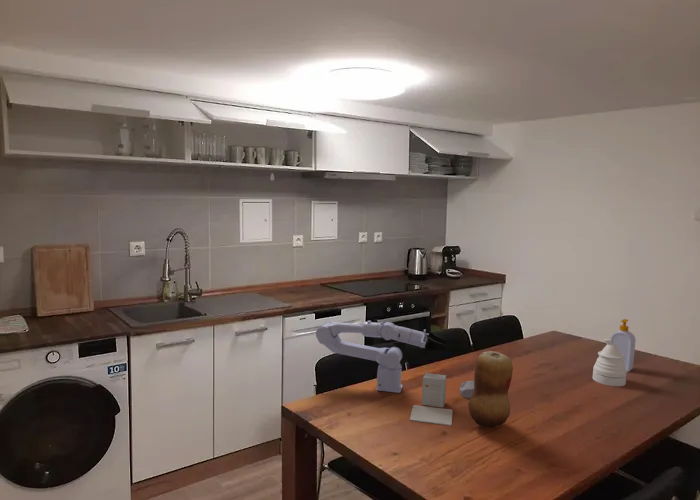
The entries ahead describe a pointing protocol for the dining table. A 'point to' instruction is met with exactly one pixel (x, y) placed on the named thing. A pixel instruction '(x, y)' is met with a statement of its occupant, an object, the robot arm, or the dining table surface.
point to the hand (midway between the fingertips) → (445, 345)
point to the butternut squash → (491, 389)
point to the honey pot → (610, 366)
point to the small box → (434, 390)
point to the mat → (431, 415)
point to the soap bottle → (625, 344)
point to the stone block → (467, 389)
